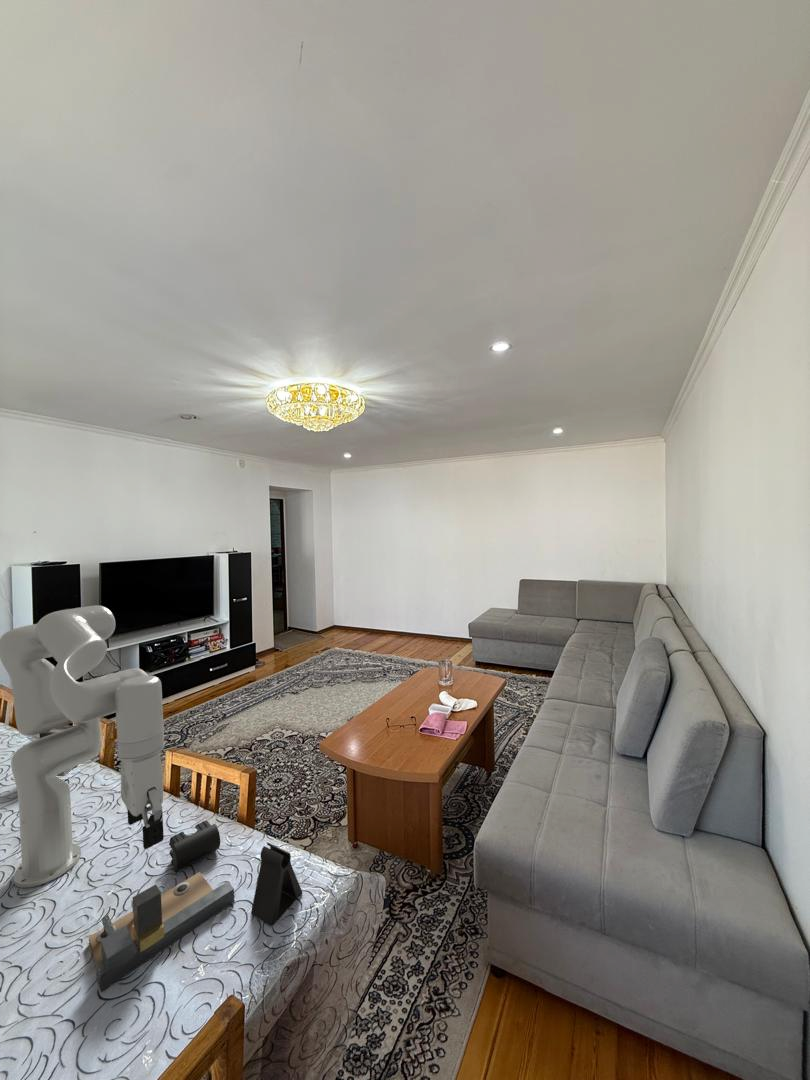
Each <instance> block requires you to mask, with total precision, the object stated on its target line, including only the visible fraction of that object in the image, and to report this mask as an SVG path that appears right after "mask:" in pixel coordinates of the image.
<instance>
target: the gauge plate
mask: <svg viewBox="0 0 810 1080" xmlns="http://www.w3.org/2000/svg"><path fill="white" fill-rule="evenodd" d="M213 890H214V889H213V887H211V885H210V884H209V883H208V881H207V880H206V879H205V877H204V876H203V874H202V872H200V871H199V872H197V873H195V874H194V875H192V876H190V877H189V878H187V879H185V880H183V881H182V882H180V883H177V885H175V886H173V887H171V888H169V889H167V890H166V891H165V892H163V893H161V906H162V922H164V921H165V920H167V919H169V918H170V917H172V916H173V915H175V914H177V913H178V912H180V911H181V910H183V909H185V908H186V907H188V906H189V905H191V904H192V903H194V902H196V901H197V900H199V899H200V898H202V897H204V896H205V895H207V894H208V893H210V892H211V891H213ZM111 923H112V926H113V928H114V930H115V932H116V931H117V930H119V929H121V928H122V927H124V926H127V928H128V930H129V933H130V935H131V937H132V939H133V941H134V940H135V939H134V937H133V927H132V925H133V924H134V920H133V910H132V911H131V912H129V913H126V914H125V915H123V916H122V917H121V918H118V919H117V920H115V921H113V922H111ZM106 937H107V934H106V933H104V927H103V928H102V929H100V930H98V931H96V932H95V933H93V934H91V935H89V936H88V944H89V945H88V946H89V948H90V952H91V954H92V957H93V960H94V964H95V965H96V964H97V963H99V962H101V961H102V960H103V959H102V956H101V940H102V939H104V938H106Z"/></svg>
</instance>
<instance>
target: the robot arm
mask: <svg viewBox="0 0 810 1080" xmlns="http://www.w3.org/2000/svg"><path fill="white" fill-rule="evenodd" d="M115 629H116V619H115V616H114V614H113V612H112V611H111V610H110V609H109V608H107V607H106V606H103V605H96V604H95V605H89V606H80V607H75V608H66V609H61V610H57V611H53V612H50V613H47V614H46V615H44V616H43V617H41V618H40V619H39V620H38V622H37V623H33V624H29V625H23V626H20V627H17V628H13V629H11V630H8V631H6V632H5V633H4V634H2V635H1V636H0V661H1V664H2V666H3V667H4V670H5V671H6V673H7V674H8V676H9V678H10V681H11V687H12V689H11V690H12V696H13V697H12V698H13V707H14V717H15V723H16V724H15V725H16V728H17V731H18V732H19V733H20V734H21V735H22V736H28V737H29V736H35V735H40V733H43V732H46V731H49V730H52V729H55V728H58V727H61V726H64V725H69V724H72V723H73V726H74V727H71V728H68V729H66V730H63V731H60V732H57V733H54V734H51V735H48V736H45V737H42V738H40V737H39V738H37V739H35V740H32V741H30V742H28V743H26V744H24V745H22V746H20V747H19V748H18V749H17V750H16V751H15V752H14V754H13V755H12V757H11V760H10V761H11V762H10V766H11V772H12V776H13V779H14V781H15V782H14V783H15V786H16V787H15V788H16V791H17V792H16V793H17V802H18V817H19V832H20V833H19V835H20V837H19V839H20V857H21V864H20V865H19V866H18V868H17V869H16V870H15V871H14V873H13V879H12V880H13V884H14V886H17V887H18V888H33V887H38V886H41V885H44V884H46V883H49V882H51V881H54V880H56V879H57V878H59V877H60V876H62V875H63V874H65V873H66V872H68V871H69V870H70V869H72V868H73V867H74V866H75V865H76V864H77V862H78V861H79V860H80V858H81V856H82V849H81V847H80V846H79V845H78V844H76V843H74V842H73V826H72V822H73V821H72V804H71V803H72V802H71V788H70V786H69V784H68V783H67V782H66V781H63V780H61V779H59V778H57V777H56V776H57V775H58V774H59V773H62V772H64V771H65V770H68V769H70V768H72V767H75V766H77V765H79V764H81V765H82V764H84V763H86V762H88V761H91V760H92V759H94V758H96V757H97V756H98V755H99V754H100V752H101V750H102V743H103V741H102V738H103V737H102V729H101V718H104V717H106V716H109V715H112V714H114V713H115V719H116V720H115V722H116V723H115V725H116V745H117V748H116V749H117V759H118V760H119V761H120V797H121V798H120V799H121V800H122V802H123V803H124V805H125V806H126V808H127V809H126V810H127V824H128V825H130V826H131V825H134V824H136V823H137V822H140V821H142V820H143V826H142V828H141V829H142V848H143V849H144V850H147V849H149V848H151V847H153V846H156V845H157V844H160V843H161V842H163V840H164V838H165V835H164V815H163V806H162V804H163V803H164V782H163V769H162V761H161V760H162V759H161V751H162V750H164V747H165V733H164V732H165V731H164V730H165V729H164V710H163V690H162V689H163V688H162V687H163V686H162V685H163V684H162V681H161V679H160V678H159V677H157V676H155V675H148V673H147V672H146V671H144V670H143V669H141V668H140V667H133V668H127V669H124V670H120V671H117V672H113V673H109V674H104V675H102V676H98V677H93V678H91V679H87V680H84V681H77V680H79V679H80V678H82V677H83V676H85V675H87V673H89V672H90V671H92V670H94V669H95V668H96V667H97V666H98V665H99V664H100V663H101V662H102V661H103V659H104V658H105V657H106V654H107V651H108V650H107V649H108V647H107V643H106V640H107V639H109V638H111V636H112V635H113V634H114V632H115ZM47 658H53V660H55V661H56V662H57V664H56V665H54V664H53V663H51V662H50V661H49V660H47ZM148 805H150V806H148ZM149 812H151V814H150V816H148V813H149Z"/></svg>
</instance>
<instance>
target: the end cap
mask: <svg viewBox="0 0 810 1080" xmlns="http://www.w3.org/2000/svg"><path fill="white" fill-rule="evenodd" d="M194 826H195V827H194V828H196V832H194V833H192V834H187V835H186V833H185V832H184V831H181V832H178V833H177V834H175V835H173V836H171V837H170V838H169V843H168V845H169V847H170V848H171V849H170V850H169V855H170V858H171V860H170V864H171V866H172V867H173V871H175V872H176V873H177V872H179V871H181V870H183V869H185V868H187V867H189V866H191V865H192V864H194V863H196V862H197V861H199V860H201V859H203V858H205V857H207V856H209V855H211V854H212V852H213V853H215V852H216V851H217V850H219V848H220V846H221V835H220V831H219V829H218V826H217V825H216V823H213V824H211V823H210V822H209V821H208V820H207V819H205V820H203V821H201V822H200V823H197V824H195V825H194Z"/></svg>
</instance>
